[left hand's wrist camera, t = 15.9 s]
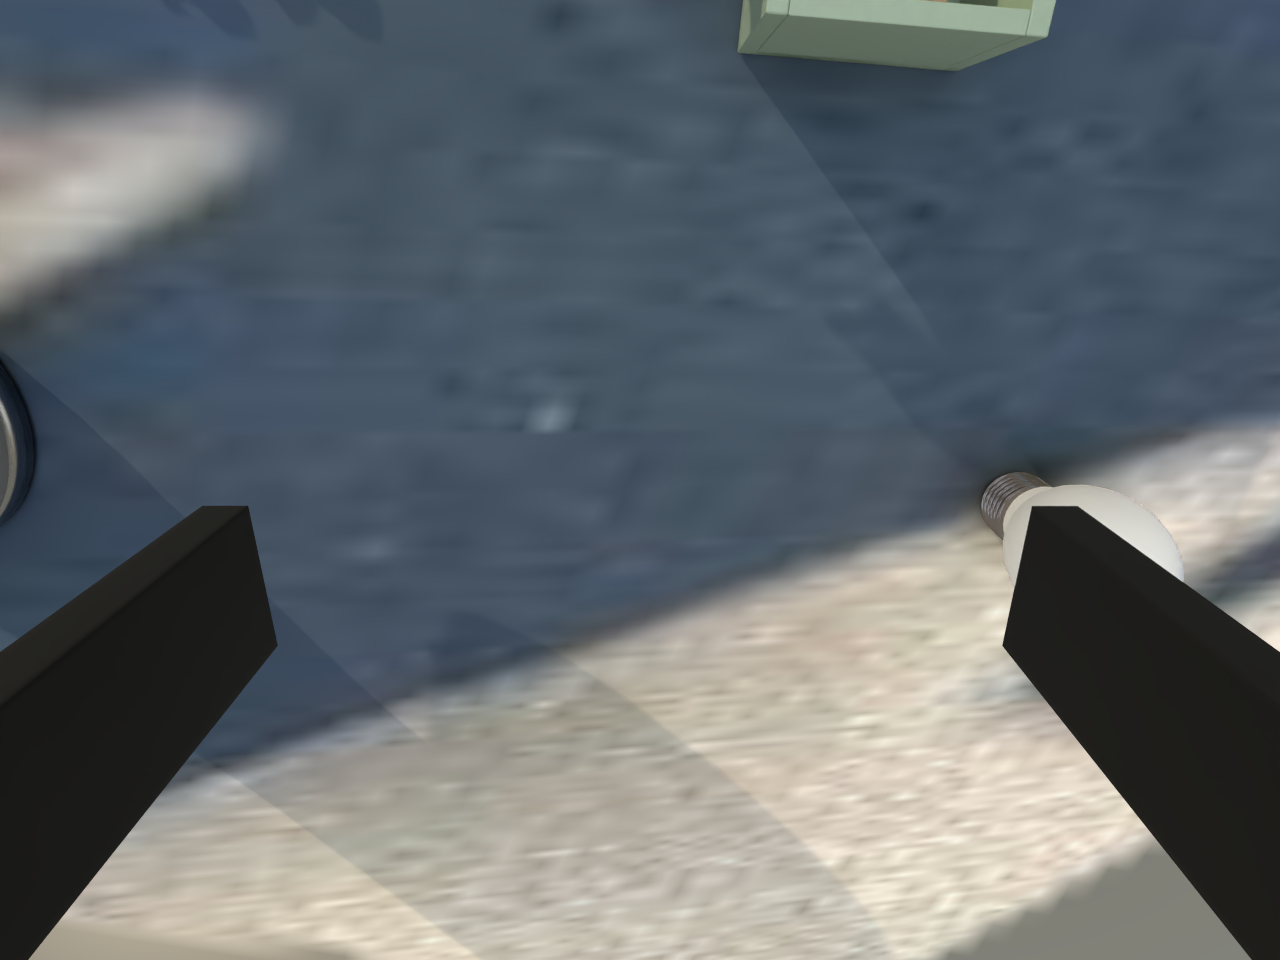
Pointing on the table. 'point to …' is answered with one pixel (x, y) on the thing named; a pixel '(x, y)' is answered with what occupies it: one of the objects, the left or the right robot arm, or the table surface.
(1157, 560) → the light bulb
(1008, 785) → the table surface
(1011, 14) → the box
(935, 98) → the table surface
